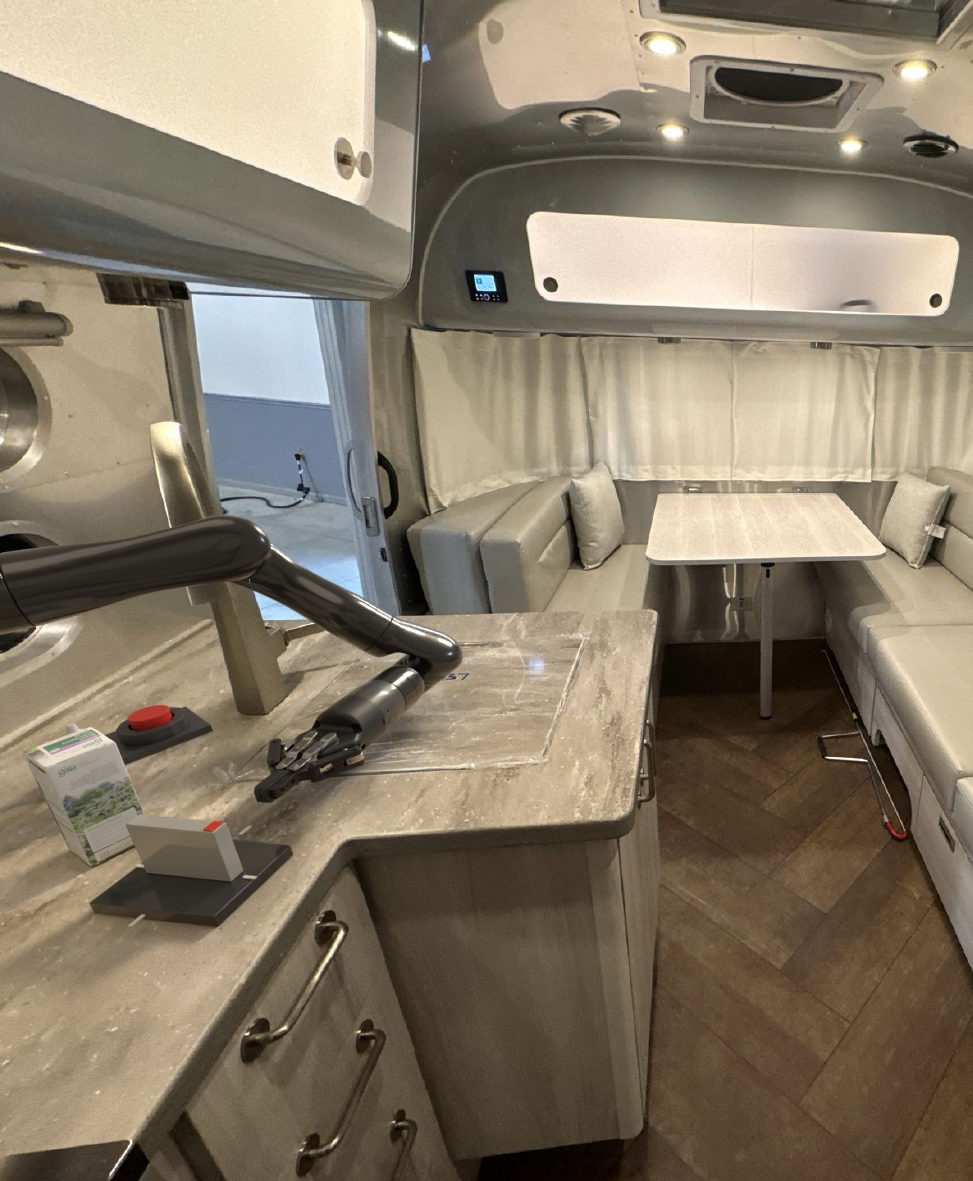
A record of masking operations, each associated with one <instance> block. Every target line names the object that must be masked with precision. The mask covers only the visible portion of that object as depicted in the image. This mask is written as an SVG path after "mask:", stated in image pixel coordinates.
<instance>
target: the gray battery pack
mask: <svg viewBox="0 0 973 1181" xmlns="http://www.w3.org/2000/svg"><path fill="white" fill-rule="evenodd" d="M125 825H126V827H127V830H128V832H129V834H130V836H131V839H132V841H133V843H134V845H135V846H134V847H135V848H134V849H135V850H136V852H137V854H138V856H139V859H140V861H141V863H143V866H144V868H145V870H146V872H147V873H153V874H163V875H172V876H182V877H191V878H201V879H211V880H220V881H230V882H231V881H233V880H234V879H235V878H236V877H237V876H238V875H239V874H240V873H242V872H243V868H242V865H241V862H240V860H239V857H238V854H237V852H236V849H235V846H234V843H233V841H232V839H233V838H232V835H231V832H230V830H229V827H228V824H227V823H226V822H224V821H221V820H220V821H219V820H213V821H212V820H203V819H194V818H184V817H183V818H182V817H173V816H172V817H171V816H163V815H151V814H145V815H143V814H139V815H138V816H136V817H135V818H134V819H132V820H131V821H129V822H128V823H126V824H125Z"/></svg>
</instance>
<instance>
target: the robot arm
mask: <svg viewBox="0 0 973 1181" xmlns="http://www.w3.org/2000/svg"><path fill="white" fill-rule="evenodd" d="M249 579H250V584H249ZM228 582H229V583H230V584H234V585H236V586H240V587H242V588H245V589H247V590H250V591H252V592H255V593H258V594H260V595H262V596H265V597H266V598H268V599H271V600H272V601H275V602H277V603H279V604H281V605H283V606H285V607H286V608H288V609H289V610H291V611H293V612H295V613H297V614H298V615H300V616H302V617H304V618H305V619H307V620H308V621H310V622H312V623H313V624H314V625H315V626H318V627H319V628H321V629H322V630H324V631H325V632H327V633H329V634H331V635H332V636H334V637H335V638H338V639H339V640H341V641H343V642H345V643H347V644H349V645H350V646H352V647H354V648H356V649H358V650H360V651H362V652H364V653H366V654H367V655H369V656H371V657H374V658H380V659H382V658H385V657H388V656H391V655H393V654H403V656H402V657H400V658H399V659H398V660H397V661H395V663H393V664H392V665H391V666H388V667H387V668H385V669H382V671H380V672H379V673H377V674H376V675H374V676H373V677H372V678H370V679H369V680H368V681H366V682H365V683H363V684H362V685H359V686H358V687H355V688H354V689H353V690H351V691H350V692H348V693H347V694H346V695H344V696H343V697H342V698H340V699H338V700H337V701H336V702H334V703H333V704H332V705H330V706H329V707H328V708H327V709H325V710H323V711H322V712H321V713H320V714H318V715H317V717H316V718H315V720H314V723H313V724H312V726H311V728H309V729H308V730H306V731H303V732H301V733H299V734H298V735H296V737H295V739H292V740H288V741H282V739H281V738H279V737H278V738H273V739H271V740H270V741H269V743H268V750H267V757H266V764H267V767H268V771H269V775H267V776H266V777H265V778H263V779H262V780H261V781H260V782H259V783H257V784H256V785H255V786H254V789H253V793H254V797H255V799H256V802H257V803H263V804H264V803H265V804H273V802H275V801H276V800H278V799H279V798H282V797H283V796H284V795H285V794H286V793H288V792H290V790H291V789H293V788H294V787H295V786H299V785H302V784H304V783H305V782H306V781H310V783H312V784H317V783H319V782H322V781H324V780H325V781H326V780H327V779H330V778H333V777H335V776H337V775H340V774H343V773H346V772H349V771H351V770H353V769H357V768H358V767H361V766H363V765H364V764H365V763H366V760H365V755H364V751H365V750H366V749H368V748H369V747H370V746H372V744H373V743H374V742H376V741H377V740H378V739H379V738H380V737H382V735H383V734H385V733H386V732H387V731H388V730H390V728H392V727H393V726H394V725H395V724H396V722H397V721H398V720H399V719H400V718H401V717H402V715H404V714H405V713H406V712H407V711H409V709H411V708H412V707H413V706H414V705H415V704H416V703H417V702H418V701H419V700H420V699H421V697H422V696H424V695H425V694H426V693H427V692H428V691H430V690H432V688H433V687H435V686H436V685H438V684H439V683H440V682H441V681H442V680H444V679H445V678H447V677H448V676H449V675H450V674H451V673H453V672H455V670H457V669H458V668H459V667H460V666H461V664H462V663H463V660H464V651H463V649H462V647H461V645H460V643H459V642H458V641H457V640H456V639H454V638H453V637H452V636H450V635H449V634H447V633H445V632H443V631H440V630H437V629H434V628H431V627H428V626H424V625H422V624H418V623H415V622H412V621H408V620H404V619H401V618H399V617H397V616H396V615H394V614H393V613H391V612H389V611H387V610H386V609H385V608H382V607H381V606H380V605H377V604H376V603H374V602H372V601H370V600H369V599H367V598H364V597H363V596H361V595H359V594H357V593H356V592H353V591H351V590H349V589H347V588H345V587H343V586H340V585H339V584H336V583H335V582H333V581H330V580H328V579H326V578H324V577H323V576H321V575H319V574H317V573H315V572H314V571H311V570H310V569H308V568H307V567H305V566H303V565H302V564H300V563H299V562H297V561H296V560H294V559H293V558H291V557H290V556H288V555H287V554H286V553H285V552H283V551H282V550H281V549H279V548H278V547H277V546H275V545H274V544H273V543H272V542H271V540H270V538H269V536H268V534H267V533H266V532H265V530H263V528H262V527H261V526H259V525H258V524H257V523H255V522H254V521H252V520H250V519H248V518H245V517H242V516H239V515H234V514H214V515H209V516H206V517H203V518H200V519H198V520H194V521H190V522H186V523H183V524H180V525H176V526H173V527H168V528H164V529H160V530H156V531H153V532H148V533H143V534H140V535H135V536H130V537H126V538H125V537H124V538H119V539H113V540H104V541H94V542H93V541H92V542H80V543H70V544H69V543H68V544H60V545H59V544H58V545H50V546H49V545H48V546H41V547H35V548H34V547H33V548H25V549H19V550H11V551H5V552H1V553H0V636H2V635H6V634H10V633H11V634H12V633H14V632H19V631H23V630H28V629H31V628H35V627H41V626H44V625H45V626H46V625H48V624H51V623H52V624H53V623H55V622H59V621H63V620H67V619H70V618H75V617H77V616H81V615H84V614H87V613H91V612H94V611H97V610H100V609H103V608H106V607H110V606H112V605H115V604H118V603H121V602H125V601H127V600H130V599H134V598H137V597H141V596H144V595H150V594H153V593H159V592H165V591H170V590H177V589H183V588H188V587H194V586H196V587H197V586H203V585H209V584H210V585H211V584H217V583H218V584H219V583H228ZM251 588H252V589H251Z"/></svg>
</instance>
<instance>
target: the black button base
mask: <svg viewBox="0 0 973 1181" xmlns="http://www.w3.org/2000/svg"><path fill="white" fill-rule="evenodd" d="M168 707H169V709H170V712H171V714H172V720H170V721H169V722H167V723H165V724H163V725H160V726H158V727H155V728H152V729H146V730H141V731H137V730H133V729H132V728H131V726H130V723H129V721H128V718H126V719H125V720H124V721H122V722H120V723H119V724H118V726H117V728H116V729H115V731H111V732H109V733H106V734H104V735H105V736H106V737H107V738H109V739H111V740H112V741H114V742H115V743H116V745H117V748H118V750H119V753H120V755H121V757H122V760H123V763H124V765H125V766H126V765H129V764H132V763H134V762H137V761H139V760H142V759H145V758H147V757H150V756H153V755H155V754H158V753H161V752H162V751H165V750H168V749H171V748H173V747H175V746H179V745H180V744H183V743H186V742H189V741H190V740H193V739H196V738H199V737H201V736H204V735H206V734H209V733H211V732H213V731H214V730H213V727H212V724H210V723H209V722H208V721H206V720H205V719H203V718H202V717H201V716H199V715H198V714H197V713H195V712H194V711H192V710H191V709H190V708H188V707H187V706H182V707H178V706H177V707H175V706H168Z"/></svg>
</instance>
